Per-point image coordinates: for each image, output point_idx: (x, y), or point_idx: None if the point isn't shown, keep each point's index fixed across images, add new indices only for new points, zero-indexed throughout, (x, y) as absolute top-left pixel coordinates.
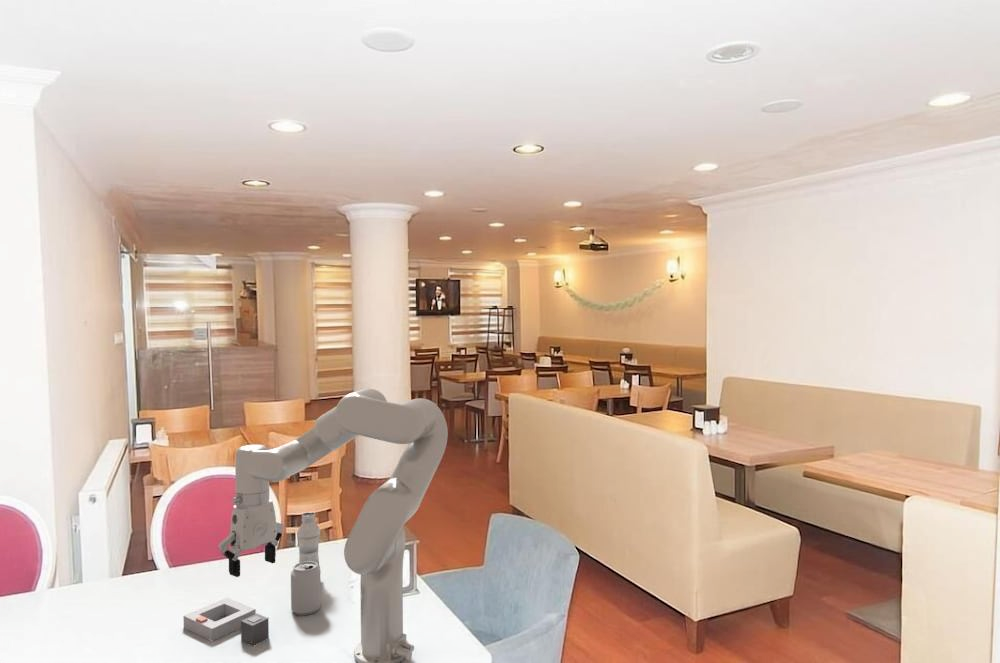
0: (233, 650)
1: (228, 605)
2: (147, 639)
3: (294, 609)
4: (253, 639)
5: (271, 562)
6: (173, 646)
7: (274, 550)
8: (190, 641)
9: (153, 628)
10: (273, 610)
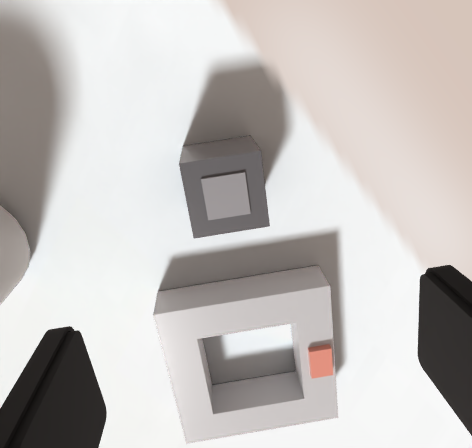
0: (306, 160)
1: (209, 395)
2: (417, 390)
3: (22, 242)
4: (249, 139)
5: (81, 341)
6: (400, 312)
7: (3, 422)
8: (357, 307)
9: (376, 431)
10: (78, 315)
